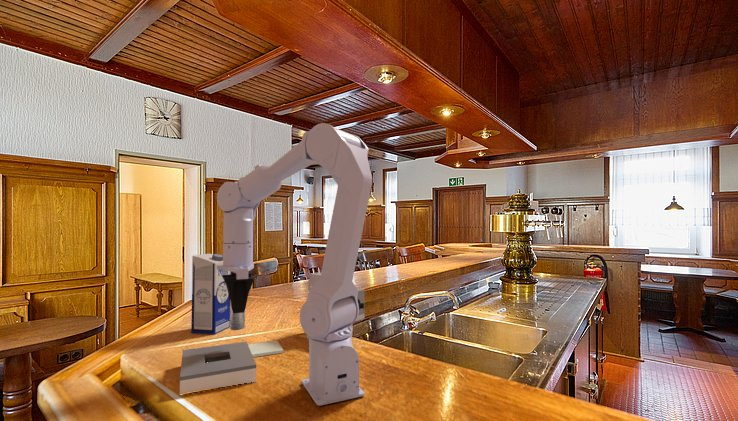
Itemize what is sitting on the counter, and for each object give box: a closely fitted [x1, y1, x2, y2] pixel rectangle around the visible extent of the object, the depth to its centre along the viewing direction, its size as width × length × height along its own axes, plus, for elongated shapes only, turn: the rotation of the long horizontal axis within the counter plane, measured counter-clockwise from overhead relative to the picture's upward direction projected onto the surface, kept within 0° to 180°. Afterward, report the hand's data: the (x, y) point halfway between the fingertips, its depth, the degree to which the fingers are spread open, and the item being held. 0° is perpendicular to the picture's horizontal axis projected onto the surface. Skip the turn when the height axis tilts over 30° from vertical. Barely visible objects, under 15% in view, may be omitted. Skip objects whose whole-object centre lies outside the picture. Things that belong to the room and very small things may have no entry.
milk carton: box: [190, 253, 231, 335], centre depth 96 cm, size 7×7×20 cm
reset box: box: [179, 341, 257, 395], centre depth 68 cm, size 14×12×3 cm
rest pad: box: [248, 340, 284, 358], centre depth 80 cm, size 7×7×1 cm
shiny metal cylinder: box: [229, 300, 246, 331], centre depth 73 cm, size 3×3×9 cm
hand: (237, 310), depth 73 cm, fingers closed on shiny metal cylinder, 3 cm apart
